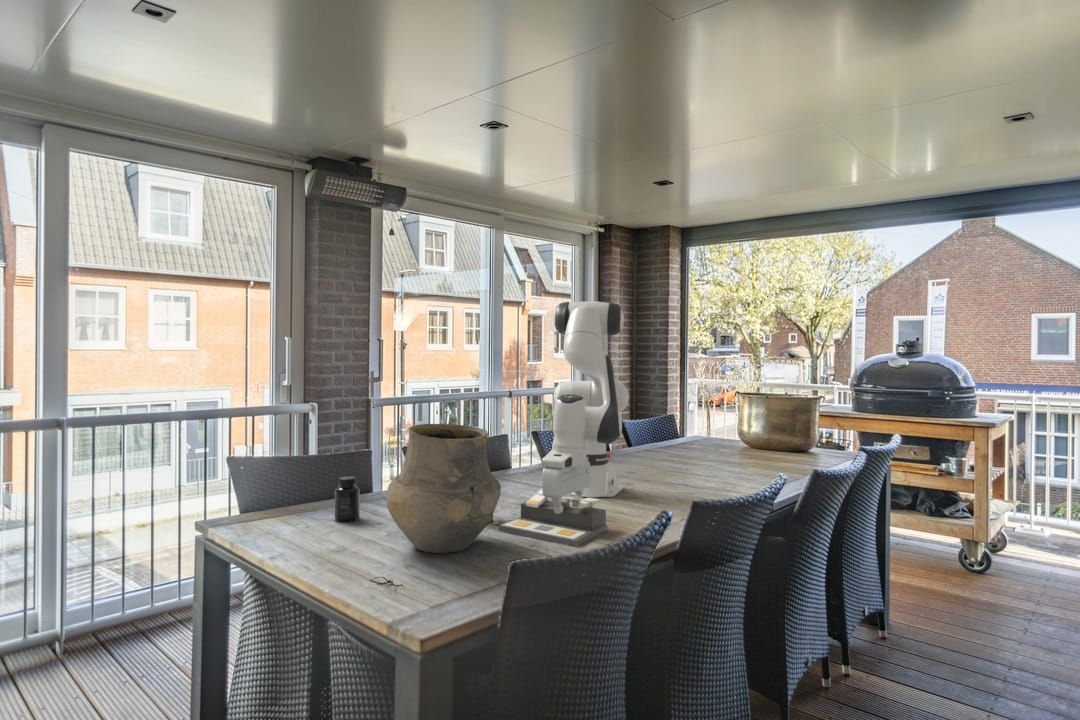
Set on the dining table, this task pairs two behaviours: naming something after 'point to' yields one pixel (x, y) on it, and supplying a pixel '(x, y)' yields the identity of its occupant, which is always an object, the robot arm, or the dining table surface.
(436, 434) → the ceramic pot
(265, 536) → the dining table surface
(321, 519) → the dining table surface
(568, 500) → the switch
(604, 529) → the switch unit
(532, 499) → the switch
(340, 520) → the supplement bottle
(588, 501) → the switch
